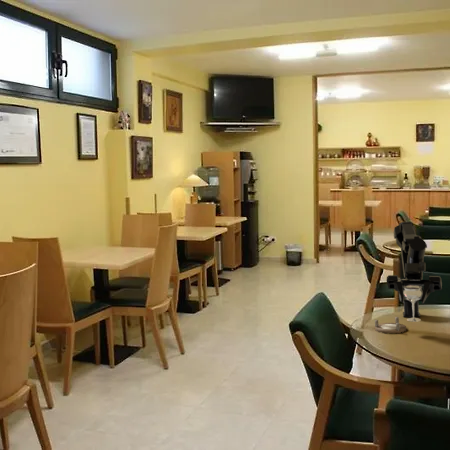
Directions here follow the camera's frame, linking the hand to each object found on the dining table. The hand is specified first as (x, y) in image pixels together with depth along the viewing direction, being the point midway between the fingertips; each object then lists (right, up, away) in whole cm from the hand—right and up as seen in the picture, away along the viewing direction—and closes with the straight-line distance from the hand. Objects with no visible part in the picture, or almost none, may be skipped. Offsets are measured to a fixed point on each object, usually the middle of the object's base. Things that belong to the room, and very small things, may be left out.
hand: (412, 302), depth 201 cm
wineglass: (+1, -7, +2) cm, 7 cm away
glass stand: (-5, -12, +11) cm, 16 cm away
